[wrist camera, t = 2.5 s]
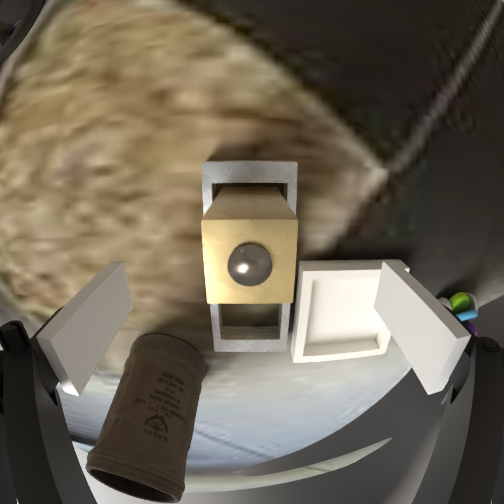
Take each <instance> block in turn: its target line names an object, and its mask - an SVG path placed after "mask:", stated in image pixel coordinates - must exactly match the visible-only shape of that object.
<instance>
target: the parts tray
mask: <svg viewBox="0 0 504 504" xmlns="http://www.w3.org/2000/svg"><path fill="white" fill-rule="evenodd" d="M383 261H396V262H397V263H398V264H399V265H401V266H402V267H403V268H404V269H405V270H406V271H407V272H408V273H409V270H410V268H409V267H408V266H406V265H405V264H404V263H403V262H402V261H401V260H400V259H391V260H318V261H299V266H298V279H297V292H296V303H295V314H294V324H293V334H292V343H291V353H292V359H293V363H302V362H317V361H329V360H339V359H349V358H357V357H365V356H372V355H379V354H385V351H386V348H387V345H388V342H389V340H390V337H391V333H390V331H389V330H388V328H387V327H386V325H385V324H384V322H383V321H382V319H381V318H380V316H379V315H378V313H377V312H376V310H375V309H374V308H373V306H374V302H375V298H376V293H377V289H378V284H379V279H380V274H381V269H382V263H383Z"/></svg>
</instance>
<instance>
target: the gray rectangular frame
mask: <svg viewBox="0 0 504 504" xmlns="http://www.w3.org/2000/svg"><path fill="white" fill-rule="evenodd" d="M297 167H298V162H295V161H281V160H225V161H205V162H202V188H203V212H204V215H205V213H206V212H207V210H208V209H209V207H210V206H211V204H212V203H213V201H214V200H215V198H216V190H215V183H284V199H285V200H286V202H287V203H288V205H289V206H290V208H291V209H292V211H293V212H294V214H295V215H296V200H297ZM210 311H211V321H212V331H213V341H214V350H215V352H276V351H286V347H287V337H288V326H289V315H290V303H279V317H278V326H222V312H221V303H210Z"/></svg>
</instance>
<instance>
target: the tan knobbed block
mask: <svg viewBox="0 0 504 504" xmlns="http://www.w3.org/2000/svg"><path fill="white" fill-rule="evenodd" d="M201 225H202V242H203V256H204V270H205V282H206V293H207V303H222V304H262V303H293V294H294V281H295V268H296V252H297V235H298V218H297V217H296V215H295V214H294V212H293V211H292V209H291V208H290V206H289V205H288V203H287V202H286V200H285V199H284V197H283V196H282V194H281V193H280V191H279V190H278V188H277V187H222V189H221V190H220V192H219V193H218V195H217V197H216V198H215V200H214V201H213V203H212V204H211V206H210V207H209V209H208V210H207V212H206V213H205V215H204V216H203V218H202V220H201Z"/></svg>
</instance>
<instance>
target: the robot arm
mask: <svg viewBox="0 0 504 504" xmlns="http://www.w3.org/2000/svg"><path fill="white" fill-rule="evenodd" d="M43 1H44V0H0V63H2V62H3V61H4V60H5V59H6V58H7V57H8V56H9V55H10V54H11V53H12V52H13V51H14V50H15V49H16V47H17V46H18V45H19V44H20V42H21V41H22V39H23V38H24V37H25V35H26V34H27V32H28V31H29V29H30V28H31V26H32V24H33V23H34V21H35V19H36V17H37V15H38V13H39V11H40V9H41V7H42V4H43ZM373 308H374V309H375V310H376V312H377V313H378V315H379V316H380V318H381V319H382V321H383V322H384V324H385V325H386V327H387V328H388V330H389V331H390V333H391V335H392V336H393V338H394V339H395V341H396V342H397V344H398V345H399V347H400V349H401V350H402V352H403V353H404V355H405V357H406V358H407V360H408V361H409V363H410V365H411V366H412V368H413V370H414V371H415V373H416V375H417V376H418V378H419V380H420V381H421V383H422V385H423V387H424V388H425V390H426V392H427V393H428V395H429V394H432V393H435V392H438V391H441V390H443V388H444V387H445V385H446V383H447V381H448V380H450V382H451V383H452V386H451V388H450V390H449V391H448V393H447V395H446V396H445V398H444V399H443V401H442V403H441V404H444V402H445V401H446V400H447V403H446V407H445V411H444V415H443V420H442V423H441V427H440V431H439V434H438V438H437V441H436V444H435V447H434V450H433V453H432V456H431V459H430V462H429V464H428V467H427V470H426V472H425V475H424V477H423V480H422V482H421V485H420V487H419V489H418V491H417V494H416V496H415V498H414V500H413V502H412V504H491V500H492V504H504V348H501V347H500V346H499V344H498V343H497V342H495V341H494V340H493V339H491V338H488V337H479V338H478V337H477V336H476V335H475V334H474V333H473V332H472V331H471V330H470V329H469V328H468V327H467V326H466V325H465V324H464V323H463V321H462V322H461V319H460V318H459V317H458V316H456V314H455V313H454V312H453V311H452V310H451V309H450V308H448V307H446V306H445V305H443V304H441V303H440V302H439V301H438V300H437V299H436V298H435V297H434V296H433V295H432V294H431V293H430V292H429V291H428V290H427V289H425V288H424V287H423V286H422V285H421V284H420V283H419V282H418V281H417V280H416V279H415V278H414V277H413V276H412V275H411V274H409V273H408V272H407V271H406V270H405V269H404V268H403V267H402V266H401V265H399V264H398V263H397V262H396V261H383V263H382V269H381V274H380V279H379V284H378V289H377V293H376V298H375V302H374V306H373ZM132 309H133V304H132V299H131V295H130V290H129V285H128V281H127V276H126V270H125V265H124V261H111V262H110V263H109V264H108V265H107V266H106V267H104V268H103V269H102V270H101V271H100V272H99V273H98V274H97V275H96V276H95V277H94V278H93V279H92V280H91V281H90V282H88V283H87V284H86V285H85V286H84V287H83V288H82V289H81V290H80V291H79V292H78V293H77V294H76V295H75V296H74V297H73V298H72V299H71V300H70V301H69V302H68V303H67V304H66V305H65V306H64V307H62V308H60V309H59V310H57V311H56V312H55V313H54V314H53V315H52V316H51V318H49V319H48V320H47V321H46V324H44V325H43V326H42V327H41V328H40V329H39V330H38V331H37V332H36V333H35V334H34V336H33V337H32V338H31V339H29V337H28V334H27V332H26V330H25V328H24V325H23V323H22V322H20V321H16V320H15V321H10V322H8V323H5V324H4V325H3V326H1V327H0V344H1V346H2V348H3V350H0V504H17V500H18V503H19V504H97V502H96V500H95V498H94V496H93V494H92V492H91V489H90V487H89V485H88V483H87V481H86V478H85V476H84V474H83V471H82V469H81V466H80V463H79V461H78V458H77V455H76V453H75V450H74V447H73V444H72V441H71V438H70V434H69V431H68V428H67V424H66V421H65V417H64V413H63V409H62V405H61V401H60V397H59V393H58V391H57V389H56V388H55V387H56V386H57V384H58V382H60V384H61V386H62V388H63V389H64V391H65V392H67V393H70V394H73V395H77V396H80V395H81V393H82V391H83V389H84V388H85V386H86V384H87V382H88V381H89V379H90V377H91V375H92V374H93V372H94V370H95V369H96V367H97V365H98V363H99V362H100V360H101V358H102V357H103V355H104V353H105V352H106V350H107V349H108V347H109V345H110V344H111V342H112V340H113V339H114V337H115V336H116V334H117V332H118V331H119V329H120V328H121V326H122V325H123V323H124V322H125V320H126V318H127V317H128V315H129V314H130V312H131V311H132Z"/></svg>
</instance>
